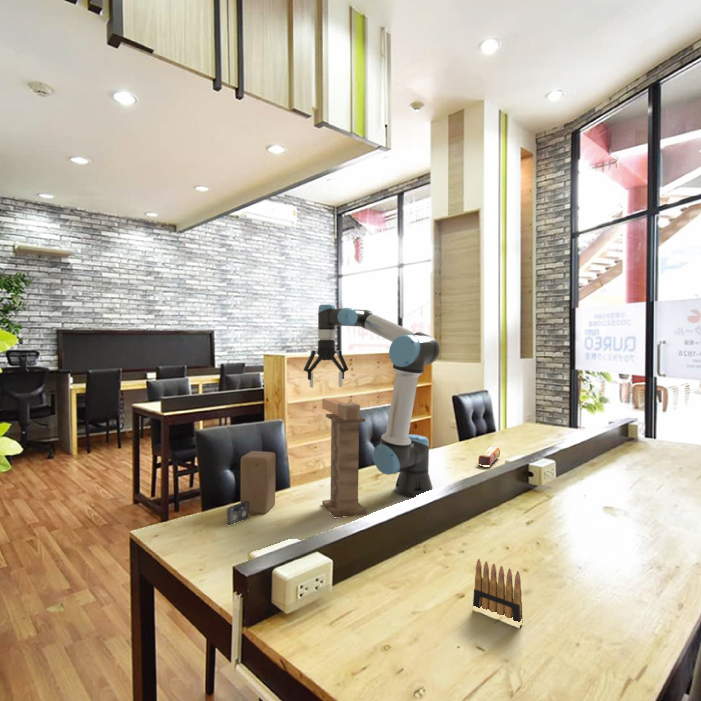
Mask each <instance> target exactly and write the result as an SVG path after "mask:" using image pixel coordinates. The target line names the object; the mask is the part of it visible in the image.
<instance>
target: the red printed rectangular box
mask: <svg viewBox="0 0 701 701" xmlns="http://www.w3.org/2000/svg"><path fill="white" fill-rule="evenodd" d="M500 455H501V450H500V448H499V447H497V446H488V447H487V448H485V451H483V453H482V454H480V455H478V463H477V464H478V465H479V464H481V465H491V464H492V463H493V462H494V461H495V460H496V459H497V458H498V457H499V458H500ZM499 458H498V459H499ZM498 459H497V460H498ZM497 460H496V461H497ZM496 461H495V462H496ZM495 462H494V463H495ZM494 463H493V464H494ZM493 464H492V465H493ZM492 465H491V466H492Z"/></svg>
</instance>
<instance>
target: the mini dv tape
mask: <svg viewBox="0 0 701 701" xmlns="http://www.w3.org/2000/svg"><path fill="white" fill-rule="evenodd" d="M249 514H250V512H249V501H244V502H241V501H240V502H239V503H236V504H234V505H231V506H228V507H227V508H226V525H227V524H228V525H231V524H234V523H236V524H238V523H237V522H239V521H241V522H243V521H246V520H248V519H249V517H250V516H249ZM247 518H248V519H247ZM245 519H246V520H245ZM242 520H243V521H242ZM239 523H240V522H239ZM228 525H227V526H228ZM234 525H235V524H234ZM231 526H232V525H231Z"/></svg>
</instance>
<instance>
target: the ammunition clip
mask: <svg viewBox="0 0 701 701" xmlns="http://www.w3.org/2000/svg"><path fill="white" fill-rule="evenodd" d="M489 568H490V567H489V564H488V561H487V560H486V561H485V562H484V565H483V571H482V562H481V560H480V558H478V559H477V561H476V565H475V575H474V589H473V600H472V603H473V604H472V607H473V606H476V607H478V608H480V607H481V606H482V608H483V609H486V610H487V609H489V610H490V611H491V612H497V614H499V615H504V614H505V616H506V617H507V618H512V617H513V620H514V621H518V622H520V621H521V619H522V620H523V602H522V586H521V584H522V583H521V582H522V581H521V575H520V571H519V570H517V571H516V574H515V576H514V587H513V573H512V570H511V568H508V570H507V573H506V582H505V571H504V567H503V566H502V565H501V566H500V567H499V571H498V577H497V568H496V564H495V563H493V564H492V565H491V570H489ZM482 572H483V574H482ZM497 579H498V580H497Z"/></svg>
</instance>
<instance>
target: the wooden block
mask: <svg viewBox="0 0 701 701" xmlns="http://www.w3.org/2000/svg"><path fill="white" fill-rule="evenodd" d="M244 501H249V514H250V513H253V514H260V515H261V514H263V515H264V514H267V513H268V512H269V511H270V510H271V509H272V508H274V506H275V504H276V452H272V451H261V450H259V451H258V450H251V451H249V452H248V453H246V454H244V455H242V456H241V458H240V503H241V502H244Z"/></svg>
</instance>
